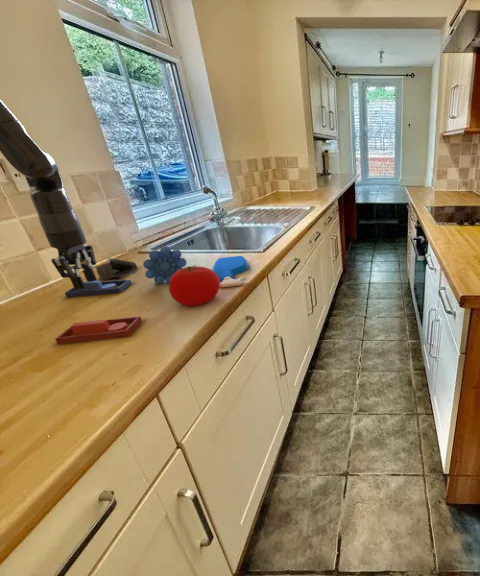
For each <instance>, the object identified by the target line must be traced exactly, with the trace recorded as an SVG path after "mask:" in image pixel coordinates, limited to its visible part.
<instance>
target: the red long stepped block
mask: <svg viewBox="0 0 480 576" xmlns="http://www.w3.org/2000/svg"><path fill="white" fill-rule="evenodd" d="M108 320H109V319H99V320H90V321H81V322H74V323H73V324H72V325H70V327H71V329H72V331H73V333H74V334H73V336H77V335H86V334H95V333H104V332H113V331H122V330H126V329H127V328H128V327H129V326H128V324H126V323H124V322H121V323H116V324H113V325H111V326H110V325H109V323H108Z"/></svg>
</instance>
